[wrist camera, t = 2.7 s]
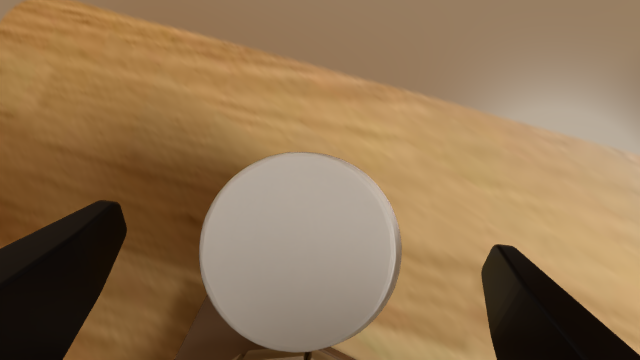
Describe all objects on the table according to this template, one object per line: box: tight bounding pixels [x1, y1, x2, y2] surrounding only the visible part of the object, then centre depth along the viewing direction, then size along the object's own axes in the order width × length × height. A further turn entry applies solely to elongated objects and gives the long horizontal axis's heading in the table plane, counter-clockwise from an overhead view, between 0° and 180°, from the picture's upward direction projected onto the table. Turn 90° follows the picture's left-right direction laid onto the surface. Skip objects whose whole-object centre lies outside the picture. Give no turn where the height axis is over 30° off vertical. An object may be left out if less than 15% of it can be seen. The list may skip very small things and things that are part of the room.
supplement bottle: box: [199, 152, 401, 352], centre depth 12 cm, size 5×5×10 cm
